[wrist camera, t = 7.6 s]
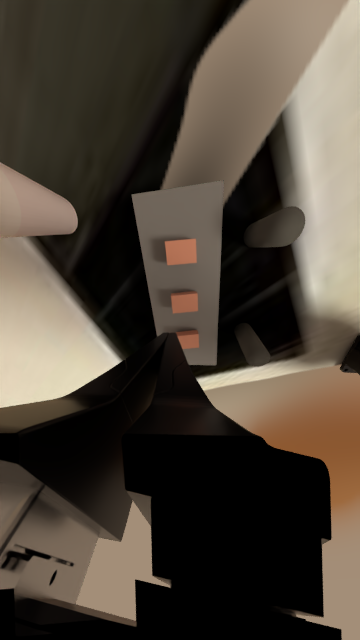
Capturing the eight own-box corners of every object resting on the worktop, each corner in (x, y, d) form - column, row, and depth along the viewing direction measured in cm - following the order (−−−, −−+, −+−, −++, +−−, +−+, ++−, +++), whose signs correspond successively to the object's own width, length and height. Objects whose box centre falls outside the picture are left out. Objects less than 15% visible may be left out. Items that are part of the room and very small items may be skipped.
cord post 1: (252, 322, 20) (272, 349, 15) (250, 336, 21) (268, 366, 16) (234, 323, 20) (248, 349, 15) (233, 337, 21) (245, 366, 16)
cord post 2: (269, 220, 15) (309, 204, 9) (264, 246, 16) (299, 245, 10) (244, 223, 15) (270, 209, 10) (242, 248, 16) (264, 248, 11)
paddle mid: (196, 291, 16) (197, 293, 15) (196, 307, 16) (198, 310, 16) (170, 293, 16) (170, 296, 15) (172, 310, 16) (172, 313, 16)
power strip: (219, 193, 14) (223, 180, 11) (214, 351, 23) (216, 365, 20) (143, 204, 15) (131, 194, 13) (166, 351, 24) (162, 364, 21)
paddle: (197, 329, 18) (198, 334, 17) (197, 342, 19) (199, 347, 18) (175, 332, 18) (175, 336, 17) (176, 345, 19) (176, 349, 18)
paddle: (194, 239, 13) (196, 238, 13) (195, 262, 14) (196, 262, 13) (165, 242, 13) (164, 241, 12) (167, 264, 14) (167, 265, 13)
